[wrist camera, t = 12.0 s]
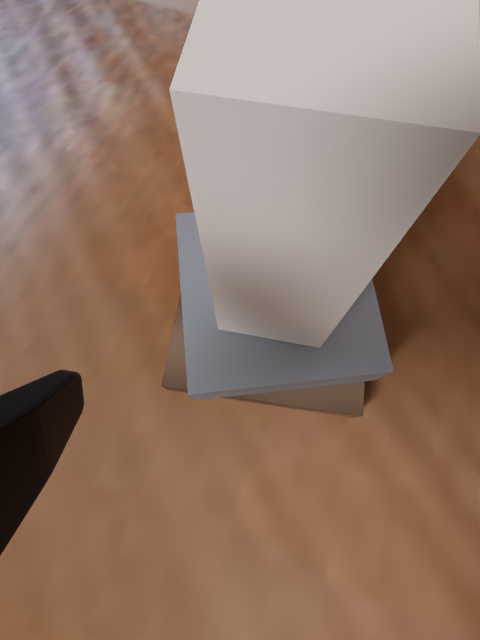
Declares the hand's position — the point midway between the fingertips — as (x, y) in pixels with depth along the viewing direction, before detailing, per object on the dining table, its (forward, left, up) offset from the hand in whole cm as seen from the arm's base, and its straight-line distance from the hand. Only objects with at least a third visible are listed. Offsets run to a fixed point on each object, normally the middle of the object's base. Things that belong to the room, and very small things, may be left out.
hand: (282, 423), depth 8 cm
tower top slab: (+6, -1, -11) cm, 13 cm away
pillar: (+6, -1, -8) cm, 10 cm away
